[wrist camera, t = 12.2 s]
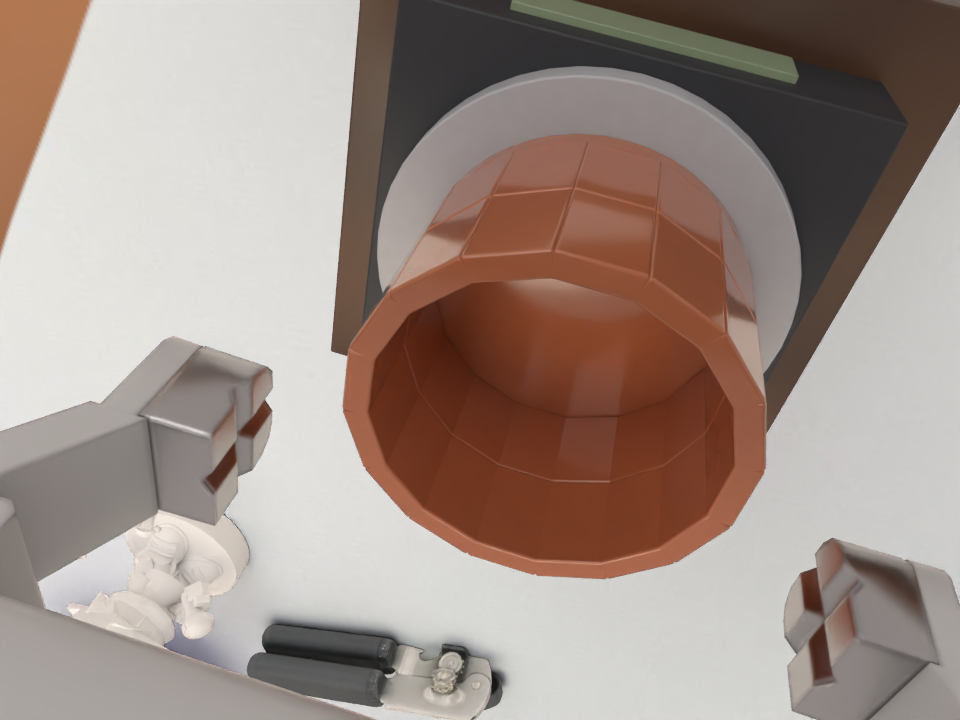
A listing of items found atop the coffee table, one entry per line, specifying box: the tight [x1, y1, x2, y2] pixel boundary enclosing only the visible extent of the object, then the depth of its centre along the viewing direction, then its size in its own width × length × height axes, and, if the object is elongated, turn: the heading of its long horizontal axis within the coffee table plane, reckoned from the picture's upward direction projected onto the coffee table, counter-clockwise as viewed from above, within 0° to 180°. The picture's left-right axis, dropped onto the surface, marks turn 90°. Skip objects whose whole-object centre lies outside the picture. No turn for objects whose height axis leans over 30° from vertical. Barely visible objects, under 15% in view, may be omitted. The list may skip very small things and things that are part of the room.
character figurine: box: [66, 510, 249, 650], centre depth 52 cm, size 9×10×12 cm
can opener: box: [247, 625, 503, 720], centre depth 58 cm, size 19×6×5 cm, turn 94°
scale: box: [362, 0, 909, 387], centre depth 17 cm, size 9×9×3 cm
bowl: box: [343, 134, 767, 579], centre depth 14 cm, size 6×6×4 cm
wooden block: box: [331, 0, 960, 434], centre depth 24 cm, size 12×12×16 cm
